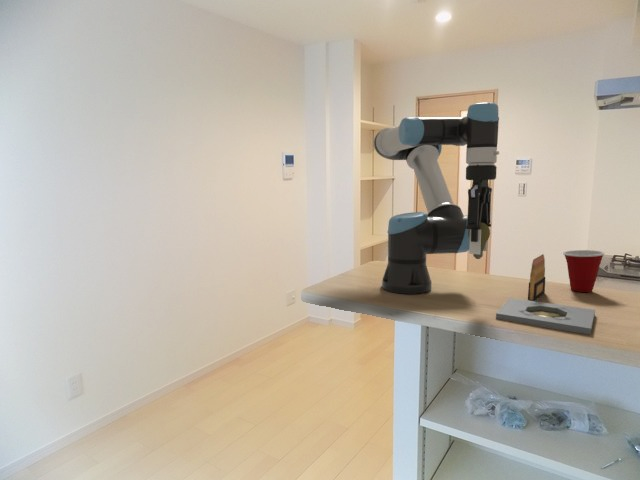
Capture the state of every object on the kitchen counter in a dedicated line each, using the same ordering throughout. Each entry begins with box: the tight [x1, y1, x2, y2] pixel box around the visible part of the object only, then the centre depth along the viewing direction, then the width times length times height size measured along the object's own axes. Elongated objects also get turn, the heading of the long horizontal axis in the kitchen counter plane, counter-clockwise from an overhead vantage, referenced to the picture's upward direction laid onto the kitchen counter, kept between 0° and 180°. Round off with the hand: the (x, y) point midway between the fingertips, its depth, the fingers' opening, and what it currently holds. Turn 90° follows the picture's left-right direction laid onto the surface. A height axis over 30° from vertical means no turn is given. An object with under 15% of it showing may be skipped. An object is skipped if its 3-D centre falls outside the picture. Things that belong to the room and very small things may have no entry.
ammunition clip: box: [527, 253, 546, 302], centre depth 126 cm, size 11×2×12 cm, turn 139°
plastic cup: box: [562, 249, 605, 293], centre depth 132 cm, size 11×11×12 cm
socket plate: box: [495, 297, 596, 336], centre depth 109 cm, size 20×16×2 cm
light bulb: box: [468, 222, 491, 260], centre depth 116 cm, size 6×6×10 cm
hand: (478, 252), depth 117 cm, fingers closed on light bulb, 5 cm apart
